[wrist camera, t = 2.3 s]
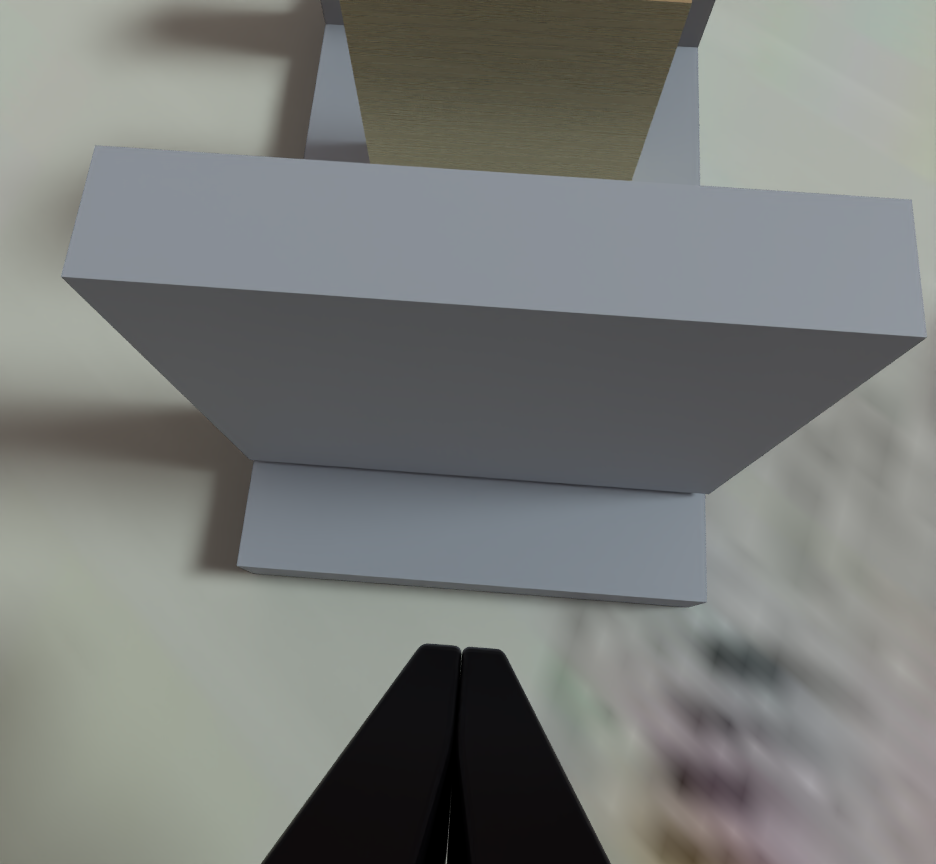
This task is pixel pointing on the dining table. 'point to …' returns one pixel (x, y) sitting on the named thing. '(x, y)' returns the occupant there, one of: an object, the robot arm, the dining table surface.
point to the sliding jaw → (494, 311)
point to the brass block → (511, 82)
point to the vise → (479, 498)
